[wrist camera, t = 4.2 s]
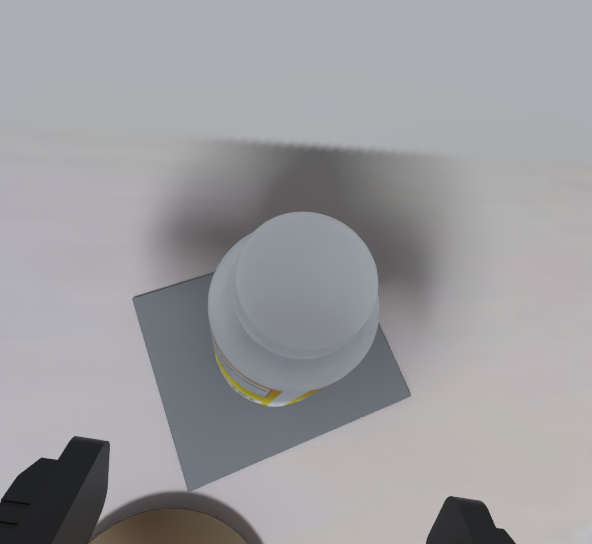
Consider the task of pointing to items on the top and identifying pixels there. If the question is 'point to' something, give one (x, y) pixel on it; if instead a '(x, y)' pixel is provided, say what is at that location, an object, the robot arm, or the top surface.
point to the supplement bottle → (293, 308)
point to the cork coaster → (170, 529)
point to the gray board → (232, 407)
